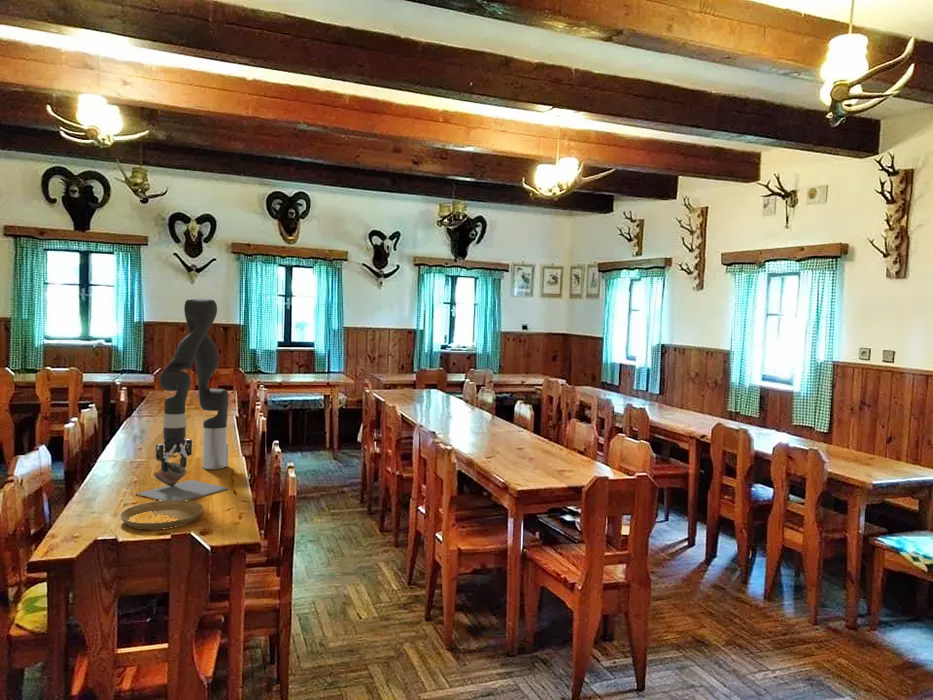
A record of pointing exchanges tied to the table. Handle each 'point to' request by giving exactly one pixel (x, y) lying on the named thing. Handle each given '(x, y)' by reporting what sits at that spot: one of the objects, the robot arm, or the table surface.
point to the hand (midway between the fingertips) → (174, 469)
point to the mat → (183, 491)
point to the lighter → (171, 474)
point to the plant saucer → (164, 513)
